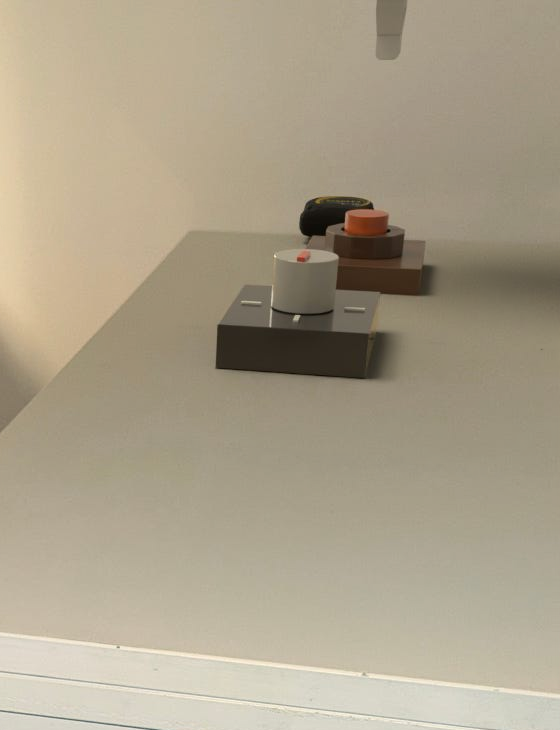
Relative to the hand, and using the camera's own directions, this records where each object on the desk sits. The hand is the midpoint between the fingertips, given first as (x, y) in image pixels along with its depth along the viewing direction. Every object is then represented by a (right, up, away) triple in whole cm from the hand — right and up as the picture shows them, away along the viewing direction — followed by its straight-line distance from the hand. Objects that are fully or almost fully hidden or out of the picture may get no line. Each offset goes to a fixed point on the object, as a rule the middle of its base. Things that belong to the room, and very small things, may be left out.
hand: (387, 58), depth 103 cm
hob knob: (-9, -22, -11) cm, 27 cm away
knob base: (-9, -25, -10) cm, 28 cm away
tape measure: (+1, -8, +23) cm, 25 cm away
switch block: (0, -14, +10) cm, 18 cm away
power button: (0, -11, +8) cm, 14 cm away
